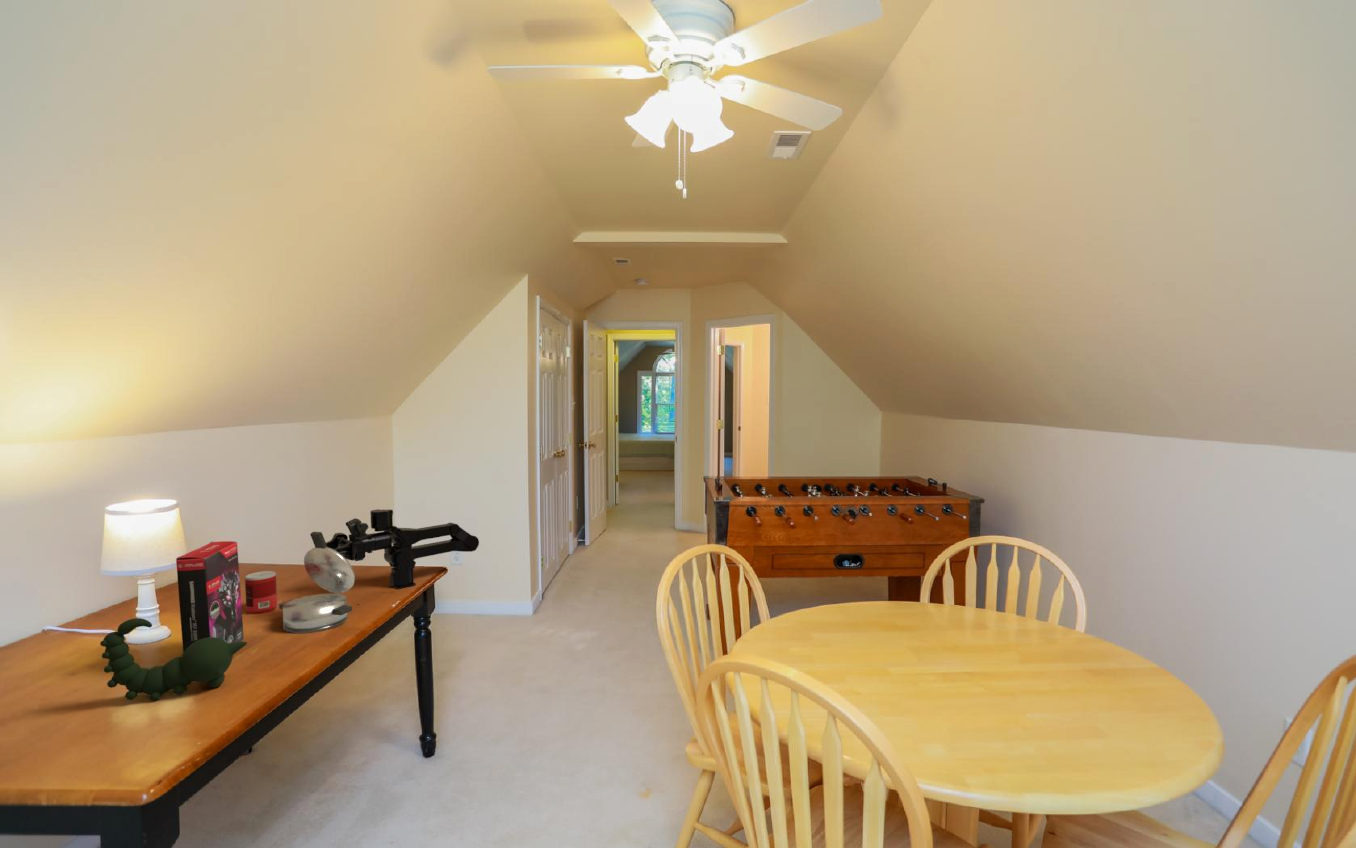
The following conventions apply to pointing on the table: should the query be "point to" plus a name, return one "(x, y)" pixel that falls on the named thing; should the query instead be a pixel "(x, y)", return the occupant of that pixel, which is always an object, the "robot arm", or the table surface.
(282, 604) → the cooker pot
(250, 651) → the table surface
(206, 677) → the toy figurine
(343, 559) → the cooker lid
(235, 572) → the graphics card box
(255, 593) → the canned food
